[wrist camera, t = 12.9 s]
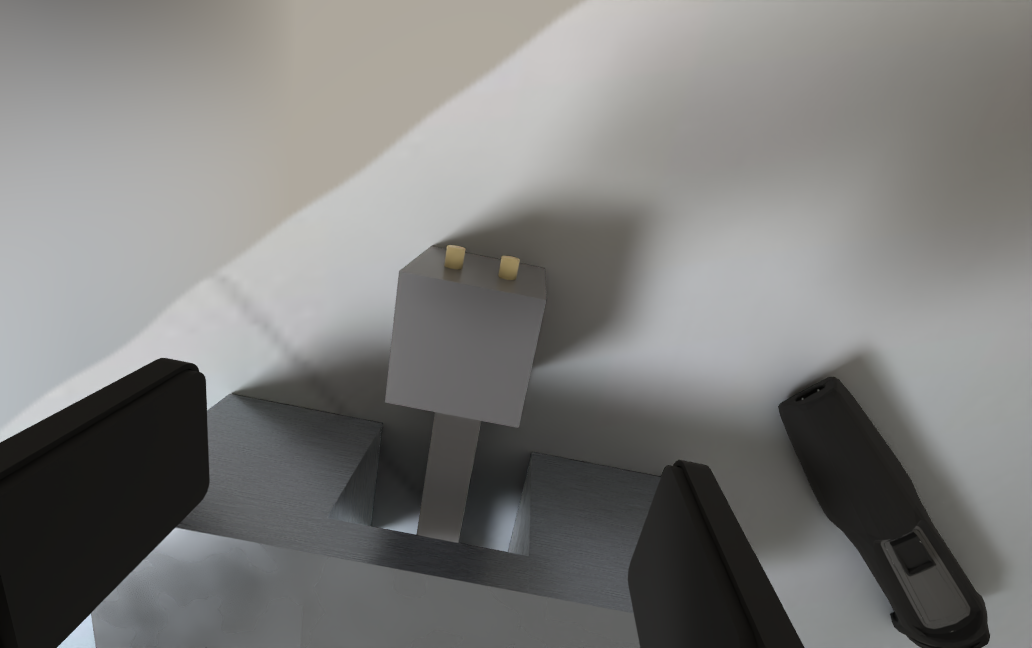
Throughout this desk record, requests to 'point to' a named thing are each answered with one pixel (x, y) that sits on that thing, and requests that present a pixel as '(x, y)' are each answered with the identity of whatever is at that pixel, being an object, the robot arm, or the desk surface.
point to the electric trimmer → (883, 518)
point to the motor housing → (373, 553)
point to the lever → (462, 362)
